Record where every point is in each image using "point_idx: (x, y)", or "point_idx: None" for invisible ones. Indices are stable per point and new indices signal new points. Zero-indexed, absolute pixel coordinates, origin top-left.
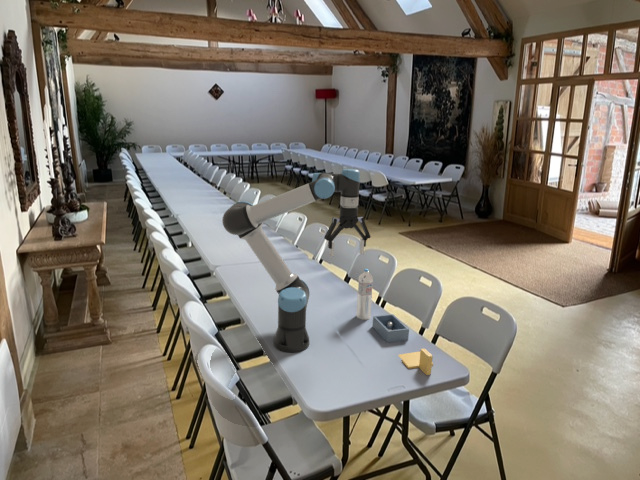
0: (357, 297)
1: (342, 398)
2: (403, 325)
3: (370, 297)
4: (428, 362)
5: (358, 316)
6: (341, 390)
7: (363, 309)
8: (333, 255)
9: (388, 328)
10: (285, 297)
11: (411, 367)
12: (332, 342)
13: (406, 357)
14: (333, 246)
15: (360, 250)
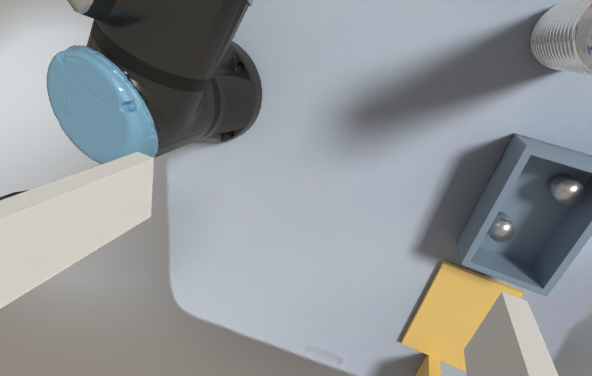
0: (575, 8)
1: (223, 312)
2: (558, 268)
3: None
4: None
5: (532, 41)
6: (232, 298)
7: (553, 63)
8: (142, 220)
9: (547, 188)
10: (63, 126)
11: (408, 344)
12: (319, 143)
13: (434, 319)
14: (42, 276)
15: (494, 351)
